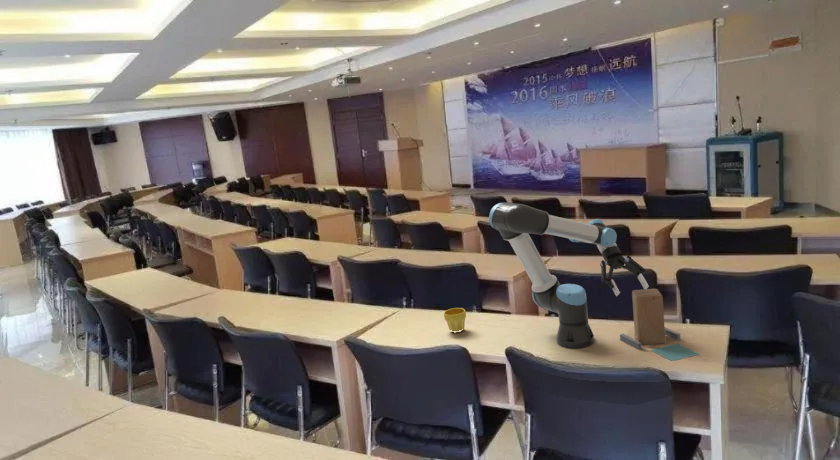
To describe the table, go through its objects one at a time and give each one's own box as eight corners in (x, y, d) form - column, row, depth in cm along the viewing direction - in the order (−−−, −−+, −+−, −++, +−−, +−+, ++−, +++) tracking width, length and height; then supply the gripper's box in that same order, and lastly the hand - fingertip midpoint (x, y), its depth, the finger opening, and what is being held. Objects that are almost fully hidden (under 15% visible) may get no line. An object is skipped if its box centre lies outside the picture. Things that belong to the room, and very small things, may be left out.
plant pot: (441, 333, 261) (439, 313, 260) (455, 326, 269) (452, 306, 267) (458, 336, 254) (456, 316, 253) (472, 328, 262) (469, 309, 260)
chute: (620, 340, 226) (619, 334, 225) (660, 330, 230) (660, 325, 229) (638, 349, 214) (638, 343, 214) (680, 339, 218) (680, 333, 218)
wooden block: (666, 344, 216) (663, 295, 213) (639, 345, 218) (635, 296, 215) (660, 334, 226) (657, 287, 223) (634, 336, 228) (631, 289, 225)
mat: (650, 350, 212) (650, 349, 212) (677, 343, 215) (677, 343, 215) (671, 361, 201) (671, 360, 201) (699, 354, 204) (699, 353, 204)
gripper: (631, 250, 247) (655, 290, 235) (581, 260, 242) (602, 301, 230) (637, 240, 241) (662, 280, 229) (586, 250, 236) (609, 292, 224)
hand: (632, 291), depth 230 cm, fingers open, 13 cm apart
